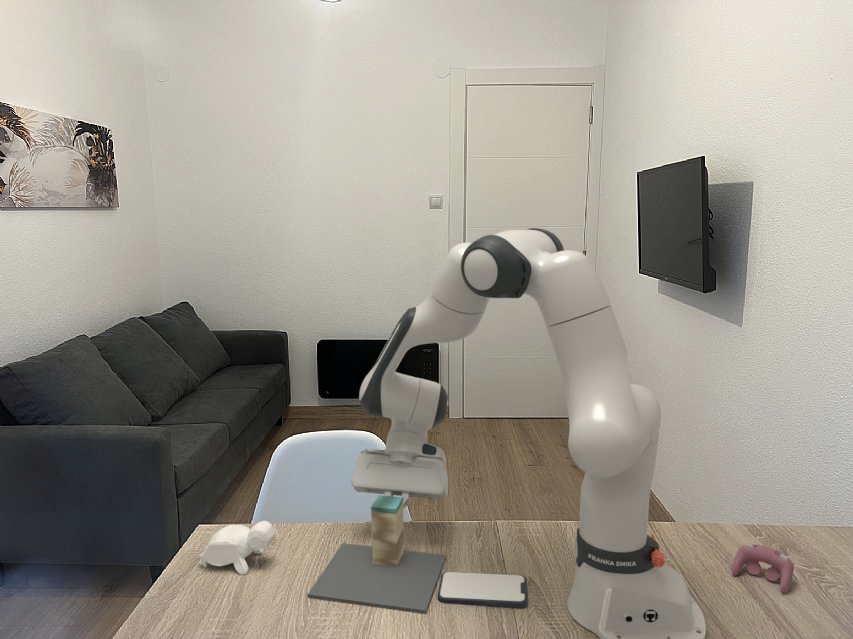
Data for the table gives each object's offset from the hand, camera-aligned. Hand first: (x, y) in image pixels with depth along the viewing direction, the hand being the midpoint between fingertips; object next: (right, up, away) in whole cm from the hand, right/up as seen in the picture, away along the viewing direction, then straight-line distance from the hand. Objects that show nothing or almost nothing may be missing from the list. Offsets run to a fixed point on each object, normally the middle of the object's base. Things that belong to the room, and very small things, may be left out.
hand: (393, 515), depth 128 cm
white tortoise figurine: (-30, -9, -2) cm, 32 cm away
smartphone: (+17, -11, -12) cm, 24 cm away
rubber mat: (-2, -9, -8) cm, 12 cm away
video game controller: (+70, -9, -10) cm, 71 cm away
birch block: (-1, -8, -2) cm, 8 cm away
